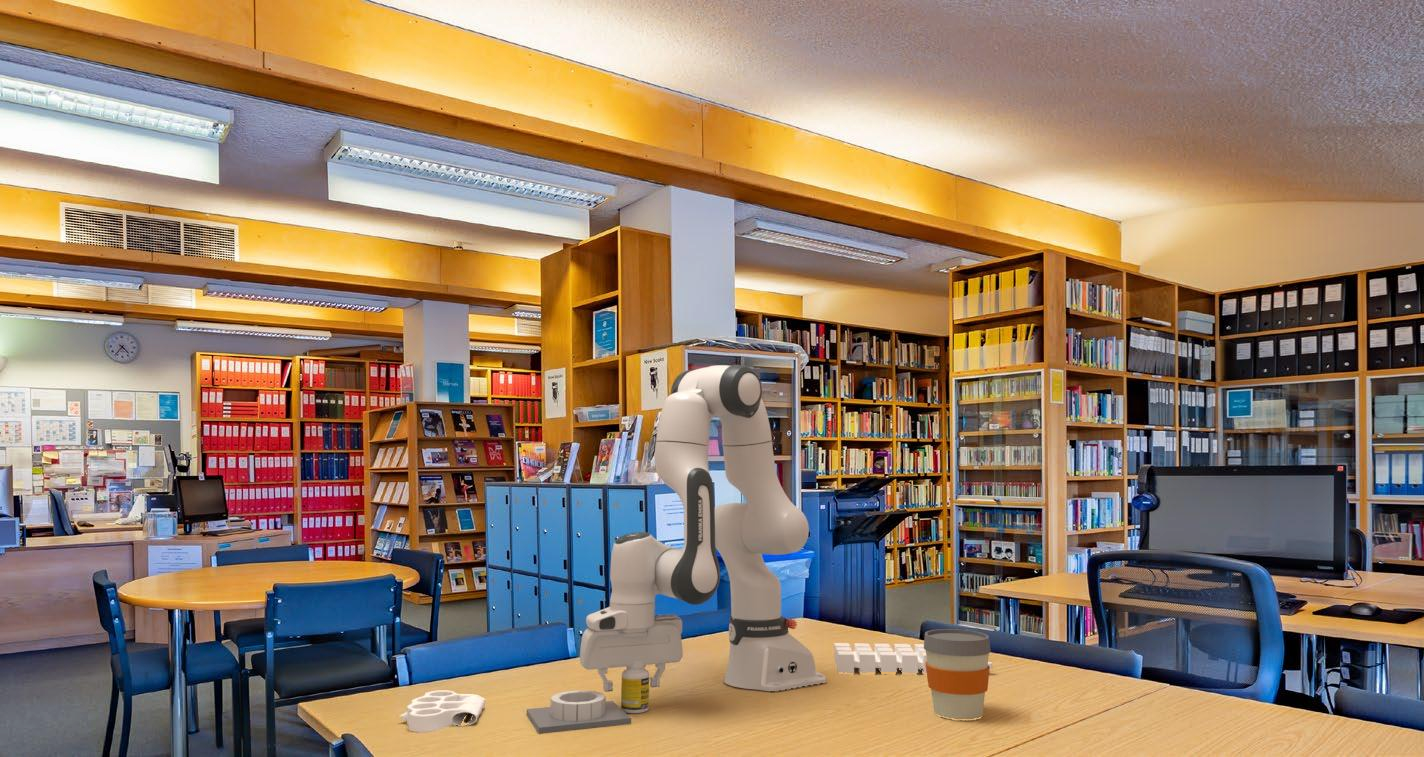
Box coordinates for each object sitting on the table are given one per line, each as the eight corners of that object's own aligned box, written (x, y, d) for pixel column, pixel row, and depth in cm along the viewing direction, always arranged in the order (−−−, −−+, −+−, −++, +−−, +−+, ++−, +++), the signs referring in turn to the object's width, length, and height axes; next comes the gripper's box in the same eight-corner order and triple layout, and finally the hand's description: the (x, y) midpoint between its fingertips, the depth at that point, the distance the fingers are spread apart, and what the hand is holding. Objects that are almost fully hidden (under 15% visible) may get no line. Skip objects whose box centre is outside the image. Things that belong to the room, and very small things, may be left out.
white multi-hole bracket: (473, 733, 162) (389, 735, 160) (487, 706, 180) (411, 708, 178) (474, 713, 162) (390, 716, 161) (487, 688, 180) (412, 690, 178)
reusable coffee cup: (993, 709, 177) (991, 631, 178) (991, 726, 165) (989, 643, 166) (928, 703, 181) (926, 627, 182) (921, 720, 169) (919, 638, 170)
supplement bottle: (644, 715, 172) (644, 662, 173) (617, 713, 173) (617, 661, 174) (652, 707, 178) (652, 656, 178) (626, 705, 179) (626, 655, 180)
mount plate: (612, 705, 178) (613, 685, 179) (631, 723, 166) (631, 701, 167) (526, 714, 172) (527, 693, 173) (539, 733, 160) (539, 710, 161)
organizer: (834, 643, 219) (980, 644, 217) (834, 663, 219) (980, 665, 217) (838, 654, 206) (993, 656, 204) (838, 676, 206) (994, 678, 204)
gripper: (677, 611, 184) (676, 680, 182) (578, 617, 176) (577, 689, 175) (687, 615, 178) (687, 687, 176) (585, 622, 170) (584, 697, 169)
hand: (631, 688), depth 176 cm, fingers open, 8 cm apart
